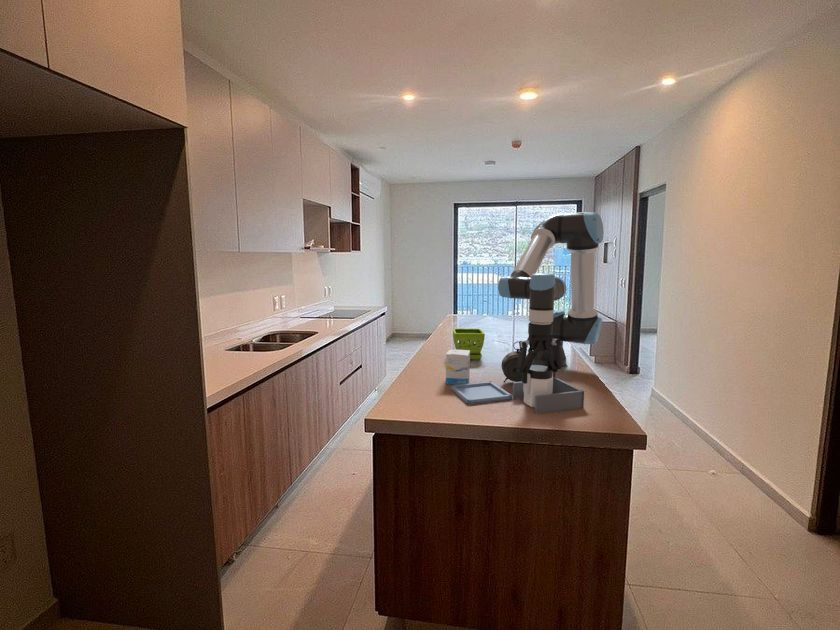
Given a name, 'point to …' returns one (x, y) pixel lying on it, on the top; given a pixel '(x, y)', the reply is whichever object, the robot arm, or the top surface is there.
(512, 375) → the alarm clock
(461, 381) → the ink box
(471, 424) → the top surface
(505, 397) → the tray
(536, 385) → the jar
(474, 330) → the flower pot
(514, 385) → the wall
